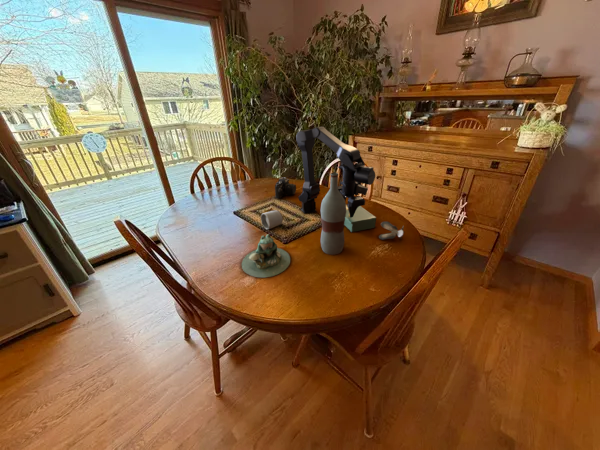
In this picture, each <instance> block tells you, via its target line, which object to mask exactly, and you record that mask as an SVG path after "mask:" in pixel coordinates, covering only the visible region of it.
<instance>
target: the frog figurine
mask: <svg viewBox="0 0 600 450" xmlns="http://www.w3.org/2000/svg"><path fill="white" fill-rule="evenodd" d="M274 240H275V239H274V238H273V237H272V236H271V235H270V234H269V233H268V234H266V235H261V237H260V239H259V242H258V244H257V248H256V249H254V250H252V251H250V252H248V253H247V254H246V255H245V256H244V257H243V259H242V260H241V261H242V262H241V268H242V271H243V272H244V273H245V274H247V275H249V276H251V277H254V278H261V279H262V278H271V277H274V276H277V275H279V274H281V273H283V272H284V271H286V269H287V268H289V266H290V264H291V256H290V254H289V253H288V252H287V251H286V250H284V249H283V248H279V247H278V244H276V241H274Z"/></svg>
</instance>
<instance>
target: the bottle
mask: <svg viewBox="0 0 600 450" xmlns="http://www.w3.org/2000/svg"><path fill="white" fill-rule="evenodd" d="M329 175H330V182H329V183H330V184H329V190H328V191H327V193H326V194H325V196H323V199H322V200H321V204H320V216H321V217H320V220H321V233H320V247H321V250H322V252H323V253H325V254H327V255H331V256H332V255H333V256H335V255H338V254H341V252H343V249H344V248H345V247H344V246H345V241H346V240H345V231H344V228H345V225H344V222H345V216H346V205H347V204H346V202H345V200H344V198H343V196H342V195H341V193H340V192H339V190H338V186H339V173H338V172H331V173H330V174H329Z"/></svg>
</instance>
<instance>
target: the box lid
mask: <svg viewBox="0 0 600 450" xmlns="http://www.w3.org/2000/svg"><path fill="white" fill-rule="evenodd" d="M345 219H346V220H347V221H348V222H349V223H351V224H352V223H357V222H362V221H368V220H373V219H376V220H377V216H375V215H374V214H372V213H370V211H368V210H366V209H365V208H364V207H363V206H359V207H358V208H357V210H356V212H355V214H354V216H353V217H350V214H349V211H348V207H347V204H346V216H345Z"/></svg>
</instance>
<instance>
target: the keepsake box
mask: <svg viewBox="0 0 600 450" xmlns="http://www.w3.org/2000/svg"><path fill="white" fill-rule="evenodd" d="M376 222H377V218H376V219H373V220H368V221H362V222H357V223H352V224H351V223H349V222H348V221H347V220H346V219H345V222H344V227H346V228H347V229H348V230H349V231H350V232H351V233H355V232H359V231H364V230H369V229H374V228H376Z"/></svg>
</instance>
